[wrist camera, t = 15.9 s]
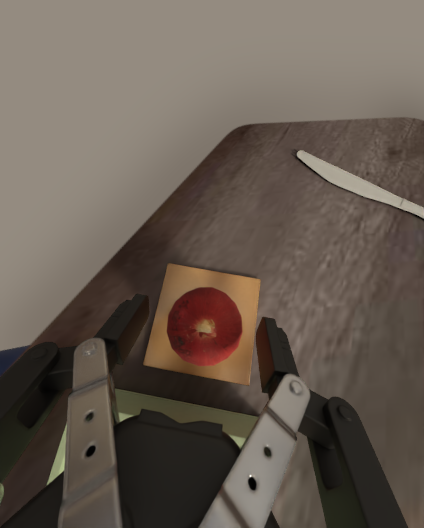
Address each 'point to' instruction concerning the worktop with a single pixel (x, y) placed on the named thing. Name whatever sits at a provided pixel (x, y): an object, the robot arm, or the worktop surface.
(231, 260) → the worktop surface
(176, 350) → the red rounded piece
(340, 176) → the butter knife
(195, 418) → the tray
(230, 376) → the cork mat
